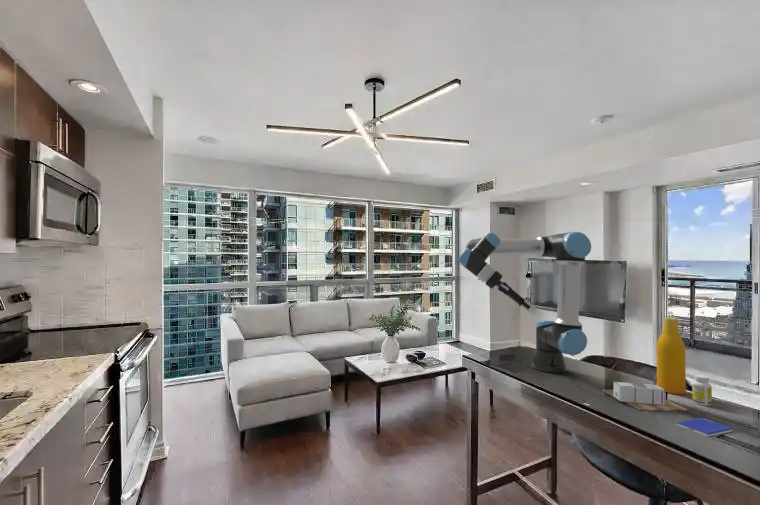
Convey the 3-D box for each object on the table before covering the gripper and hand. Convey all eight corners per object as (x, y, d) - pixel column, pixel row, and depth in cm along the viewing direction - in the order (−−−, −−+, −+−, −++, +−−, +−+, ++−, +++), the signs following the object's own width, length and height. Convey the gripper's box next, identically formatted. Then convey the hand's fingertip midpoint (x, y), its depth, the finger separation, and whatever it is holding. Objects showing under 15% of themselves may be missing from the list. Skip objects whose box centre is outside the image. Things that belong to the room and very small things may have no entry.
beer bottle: (687, 391, 149) (686, 319, 150) (684, 396, 142) (684, 321, 143) (658, 385, 155) (658, 316, 156) (654, 390, 149) (654, 318, 150)
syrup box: (619, 401, 133) (665, 406, 130) (619, 385, 133) (665, 389, 130) (612, 396, 138) (656, 400, 135) (613, 380, 138) (656, 384, 136)
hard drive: (701, 417, 119) (676, 422, 115) (732, 427, 111) (707, 433, 107) (701, 422, 119) (676, 427, 115) (732, 432, 111) (707, 438, 107)
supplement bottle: (707, 402, 137) (707, 375, 137) (715, 407, 132) (714, 379, 132) (689, 400, 138) (689, 373, 139) (696, 404, 133) (696, 377, 134)
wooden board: (640, 410, 126) (640, 408, 126) (601, 390, 146) (601, 389, 146) (687, 410, 127) (687, 409, 127) (642, 391, 147) (642, 389, 147)
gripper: (483, 283, 166) (526, 319, 160) (485, 282, 153) (532, 321, 148) (494, 271, 166) (538, 306, 160) (497, 269, 153) (545, 307, 147)
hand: (535, 313), depth 154 cm, fingers closed
